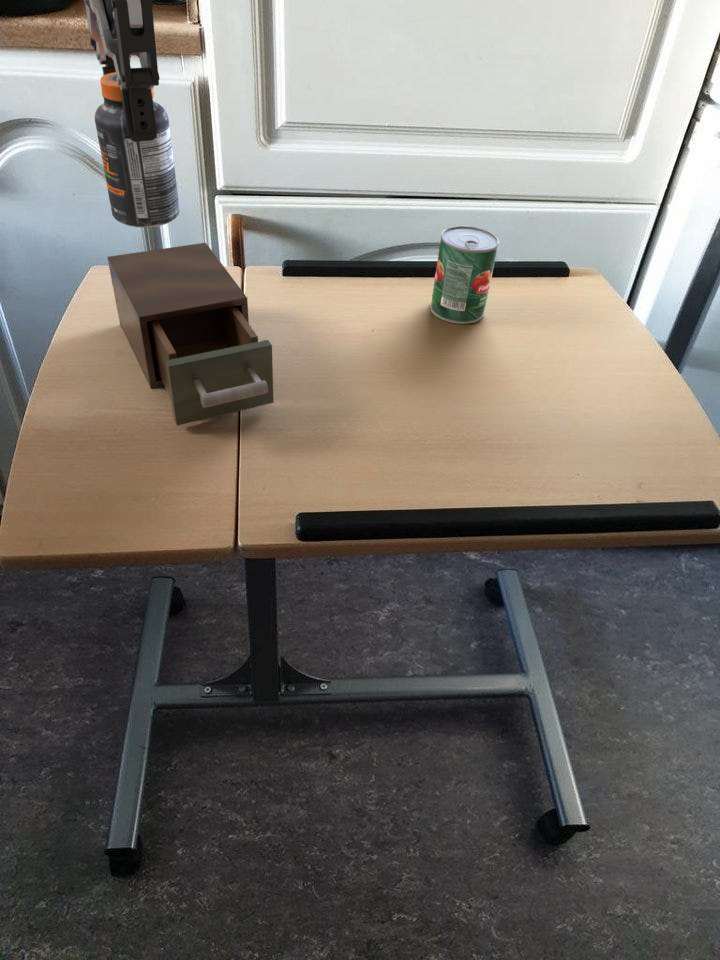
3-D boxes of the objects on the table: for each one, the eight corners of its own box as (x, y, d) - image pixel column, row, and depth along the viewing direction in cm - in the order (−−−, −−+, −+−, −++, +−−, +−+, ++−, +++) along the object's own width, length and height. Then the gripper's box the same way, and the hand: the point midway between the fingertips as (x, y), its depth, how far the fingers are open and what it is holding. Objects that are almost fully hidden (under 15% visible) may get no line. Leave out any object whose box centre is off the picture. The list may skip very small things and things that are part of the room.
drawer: (287, 424, 79) (287, 365, 74) (188, 449, 75) (180, 389, 69) (231, 340, 91) (227, 284, 86) (143, 357, 87) (133, 300, 81)
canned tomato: (427, 296, 105) (437, 223, 97) (478, 297, 105) (493, 226, 98) (434, 323, 99) (445, 249, 92) (488, 325, 100) (504, 251, 92)
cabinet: (251, 366, 88) (247, 297, 82) (150, 388, 84) (138, 316, 77) (211, 308, 98) (205, 242, 92) (119, 324, 94) (107, 256, 87)
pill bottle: (107, 206, 65) (81, 68, 57) (171, 199, 67) (154, 64, 59) (119, 233, 61) (93, 88, 53) (187, 225, 63) (171, 84, 55)
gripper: (178, -129, 44) (203, 151, 56) (124, -146, 53) (155, 98, 65) (52, -135, 41) (106, 161, 53) (18, -152, 50) (70, 104, 62)
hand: (133, 126), depth 59 cm, fingers closed on pill bottle, 6 cm apart
